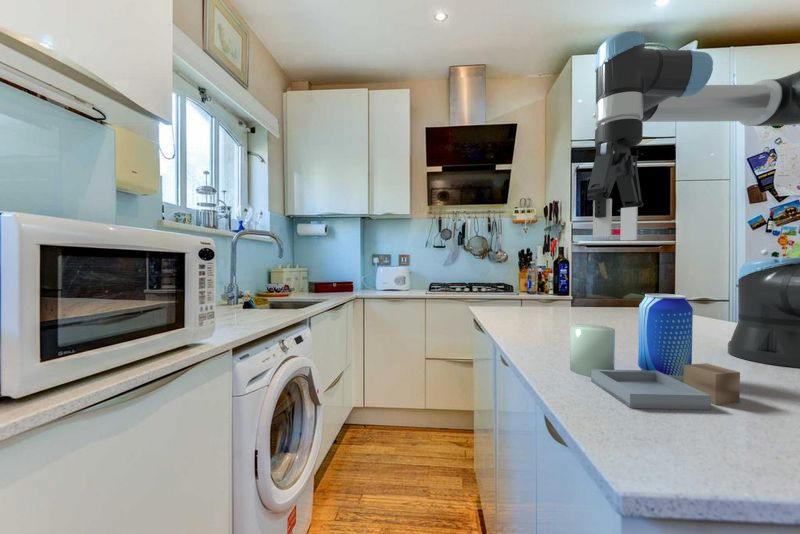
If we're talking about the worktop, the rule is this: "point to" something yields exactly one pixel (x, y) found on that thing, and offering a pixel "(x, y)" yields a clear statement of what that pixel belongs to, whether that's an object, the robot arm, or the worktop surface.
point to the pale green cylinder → (591, 348)
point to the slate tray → (650, 390)
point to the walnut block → (714, 382)
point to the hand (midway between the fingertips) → (616, 239)
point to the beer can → (665, 334)
